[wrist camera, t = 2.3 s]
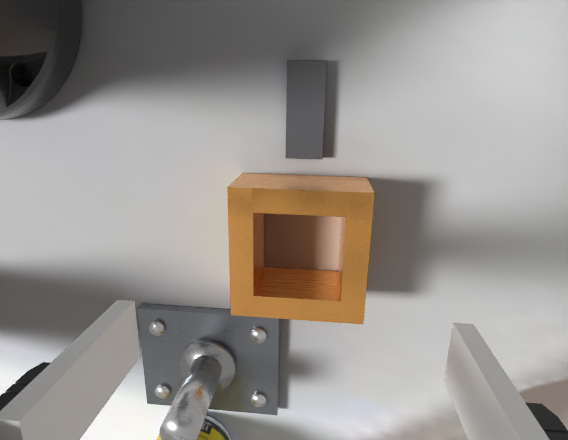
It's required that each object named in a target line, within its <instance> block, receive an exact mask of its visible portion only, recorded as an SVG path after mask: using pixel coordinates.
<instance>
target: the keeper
mask: <svg viewBox="0 0 568 440" xmlns="http://www.w3.org/2000/svg"><path fill="white" fill-rule="evenodd" d="M138 318H139V328H140V337H141V347H142V356H143V366H144V375H145V385H146V394H147V403H148V404H159V405H170V406H171V407H170V409H169V411H168V413H167V415H166V417H165V419H164V421H163V423H162V425H161V428H160V436H161V438H162V440H197V438H198V435H199V432H200V430H201V427H202V424H203V422H204V419H205V416H206V414H207V411H208V409H214V410H226V411H237V412H248V413H259V414H270V415H277V413H278V395H279V334H280V318H265V317H251V316H236V315H231V309H216V308H201V307H187V306H172V305H157V304H141V305H140V306H139V308H138Z"/></svg>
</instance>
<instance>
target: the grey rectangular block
mask: <svg viewBox="0 0 568 440" xmlns="http://www.w3.org/2000/svg"><path fill="white" fill-rule="evenodd" d="M326 67H327V61H316V60H287V113H286V158H296V159H322V154H323V132H324V110H325V89H326Z"/></svg>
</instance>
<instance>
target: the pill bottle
mask: <svg viewBox="0 0 568 440" xmlns="http://www.w3.org/2000/svg"><path fill="white" fill-rule="evenodd" d="M157 440H162V438H161V436H160V434H159V436H158V438H157ZM197 440H231V439H230V436H229V434H228V432H227V431H226V429H225V428H224V427H223V426H222V425H221V424H220V423H219V422H218V421H216V420H215V419H213V418H211V417H209V416H207V415H206V416H205V419H204V422H203V424H202V427H201V430H200V432H199V435H198V438H197Z"/></svg>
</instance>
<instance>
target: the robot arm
mask: <svg viewBox="0 0 568 440" xmlns="http://www.w3.org/2000/svg"><path fill="white" fill-rule="evenodd" d="M80 34H81V2H80V0H0V120H2V119H10V118H15V117H19V116H22V115H25V114H27V113H30V112H32V111H34V110H35V109H37V108H39V107H40V106H42V105H43V104H44V103H46V102H47V101H48V100H49V99H50V98H51V97H53V95H54V94H55V93H56V92H57V91H58V90H59V88H60V87H61V86H62V85H63V83H64V81H65V80H66V78H67V76H68V74H69V73H70V71H71V68H72V66H73V63H74V61H75V58H76V54H77V50H78V47H79V41H80ZM139 357H140V349H139V340H138V330H137V320H136V310H135V301H129V300H117V301H116V302H114V303H113V304H112V305H111V306H110V307H109V308H108V309H107V310H106V311H105V312H104V313H103V314H102V315H101V316H100V317H99V318H98V319H97V320H96V321H94V322H93V323H92V324H91V325H90V326H89V327H88V328H87V329H86V330H85V331H84V332H83V333H82V334H81V335H80V336H79V337H78V338H77V339H76V340H75V341H73V342H72V343H71V344H70V345H69V346H68V347H67V348H66V349H65V350H64V351H63V352H62V353H61V354H60V355H59V356H58V357H57V358H56V359H55V360H53V361H52V362H51V363H46V362H43V363H41V364H40V365H38V366H36V367H34V368H33V369H31V370H29V371H27V372H26V373H25V374H24V375H23V376H22V377H21V378H20V379H19V380H17V381H16V383H15V384H13V385H12V386H11V387H10V388H9V389H7V390H6V393H3V394H2V395H1V396H0V440H80V438H81V437H82V436H83V434H84V433H85V431H86V430H87V429H88V427H89V426H90V425H91V423H92V422H93V420H94V419H95V418H96V416H97V415H98V414H99V412H100V411H101V409H102V408H103V407H104V405H105V404H106V403H107V401H108V400H109V399H110V397H111V396H112V394H113V393H114V392H115V390H116V389H117V388H118V386H119V385H120V383H121V382H122V381H123V379H124V378H125V377H126V375H127V374H128V372H129V371H130V370H131V368H132V367H133V366H134V364H135V363H136V361H137V360H138V359H139ZM444 383H445V385H446V388H447V390H448V392H449V395H450V397H451V400H452V402H453V404H454V407H455V409H456V412H457V414H458V416H459V419H460V421H461V423H462V426H463V428H464V431H465V433H466V435H467V438H468V440H568V430H567V429H566V427H565V426H564V425H563V423H562V422H561V421H560V419H559V418H558V417H557V416H556V415H555V414H554V413H552V412H551V411H550V410H548V409H547V408H546V407H545V406H543V405H542V404H537V403H525V402H524V400H523V399H522V397H521V396H520V394H519V393H518V391H517V390H516V388H515V386H514V385H513V383H512V382H511V380H510V379H509V377H508V376H507V374H506V373H505V371H504V370H503V368H502V367H501V365H500V364H499V362H498V361H497V359H496V358H495V356H494V355H493V353H492V352H491V350H490V349H489V347H488V346H487V344H486V343H485V341H484V339H483V338H482V336H481V335H480V333H479V332H478V330H477V329H476V327H475V326H474V324H462V323H453V328H452V334H451V340H450V346H449V353H448V359H447V365H446V371H445V377H444Z"/></svg>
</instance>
